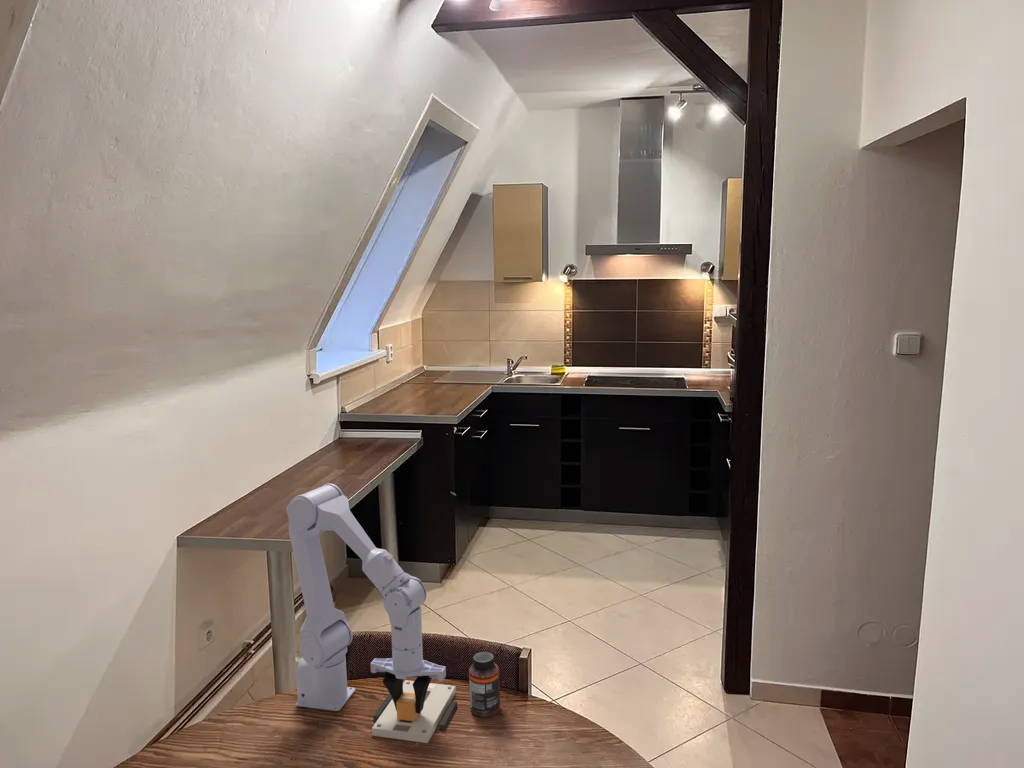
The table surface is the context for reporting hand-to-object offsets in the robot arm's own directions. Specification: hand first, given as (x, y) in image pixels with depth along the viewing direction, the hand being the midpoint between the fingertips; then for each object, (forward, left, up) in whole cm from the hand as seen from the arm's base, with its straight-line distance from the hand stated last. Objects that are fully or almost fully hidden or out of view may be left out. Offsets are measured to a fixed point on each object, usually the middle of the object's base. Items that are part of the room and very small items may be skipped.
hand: (409, 709), depth 145 cm
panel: (0, +3, -3) cm, 4 cm away
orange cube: (0, 0, -1) cm, 1 cm away
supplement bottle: (+13, +7, -3) cm, 15 cm away
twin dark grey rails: (0, +3, -3) cm, 4 cm away
